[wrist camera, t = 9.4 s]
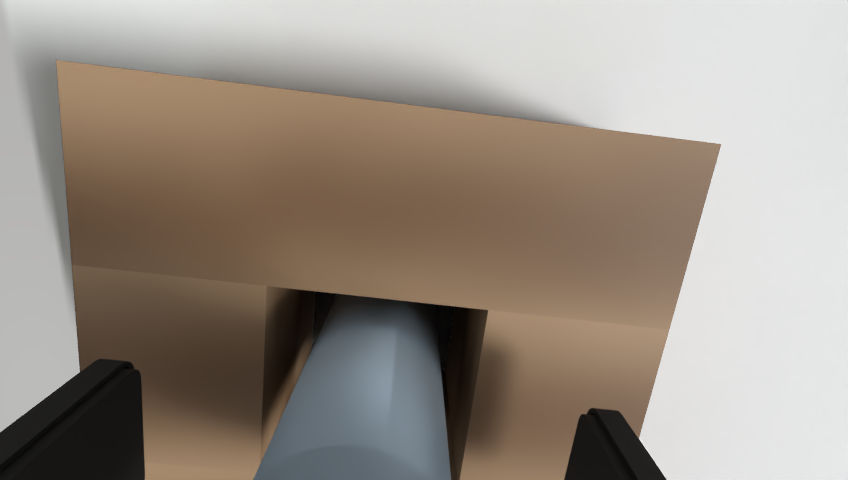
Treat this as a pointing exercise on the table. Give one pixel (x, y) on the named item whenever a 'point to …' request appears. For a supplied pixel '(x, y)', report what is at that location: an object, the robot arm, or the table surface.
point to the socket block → (367, 258)
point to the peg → (366, 399)
